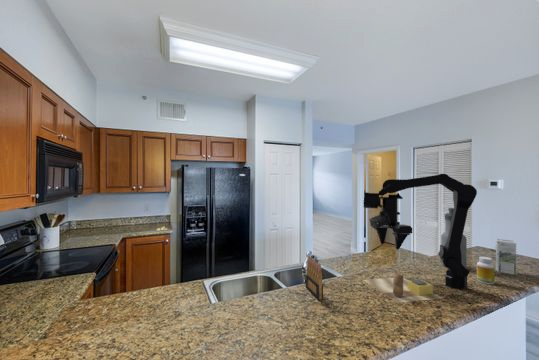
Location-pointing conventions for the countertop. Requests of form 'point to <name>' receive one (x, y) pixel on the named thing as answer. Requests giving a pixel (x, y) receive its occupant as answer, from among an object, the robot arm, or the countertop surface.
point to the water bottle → (445, 236)
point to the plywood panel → (408, 296)
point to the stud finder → (420, 287)
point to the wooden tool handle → (398, 285)
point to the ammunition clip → (314, 279)
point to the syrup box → (506, 256)
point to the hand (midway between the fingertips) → (389, 246)
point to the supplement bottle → (485, 270)
